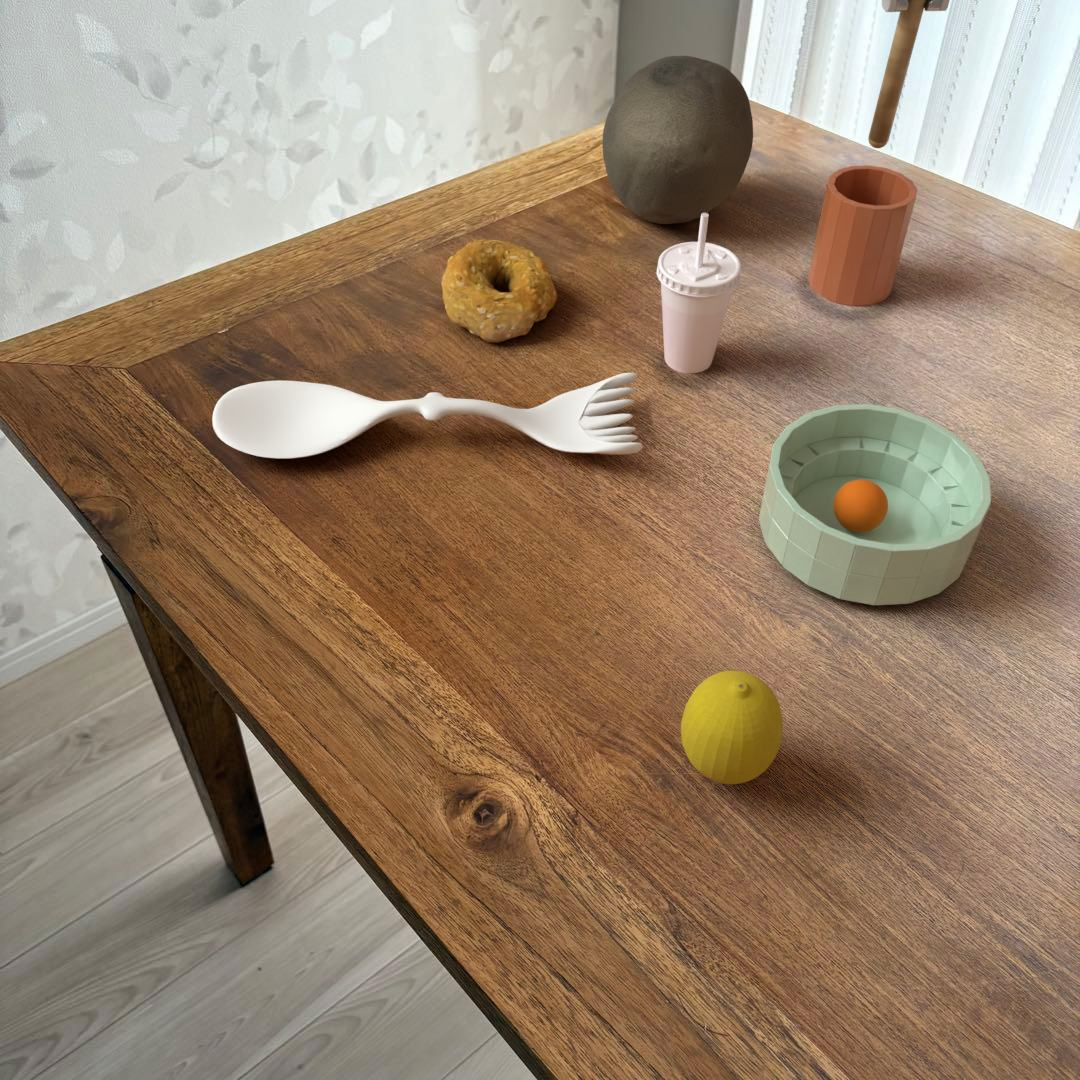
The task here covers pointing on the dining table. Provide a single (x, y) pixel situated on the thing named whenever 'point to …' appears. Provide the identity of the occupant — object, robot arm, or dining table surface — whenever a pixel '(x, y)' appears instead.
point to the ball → (860, 505)
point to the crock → (861, 234)
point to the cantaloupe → (677, 139)
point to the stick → (895, 73)
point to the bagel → (497, 289)
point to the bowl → (910, 487)
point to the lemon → (732, 727)
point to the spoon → (341, 415)
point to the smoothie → (695, 299)
